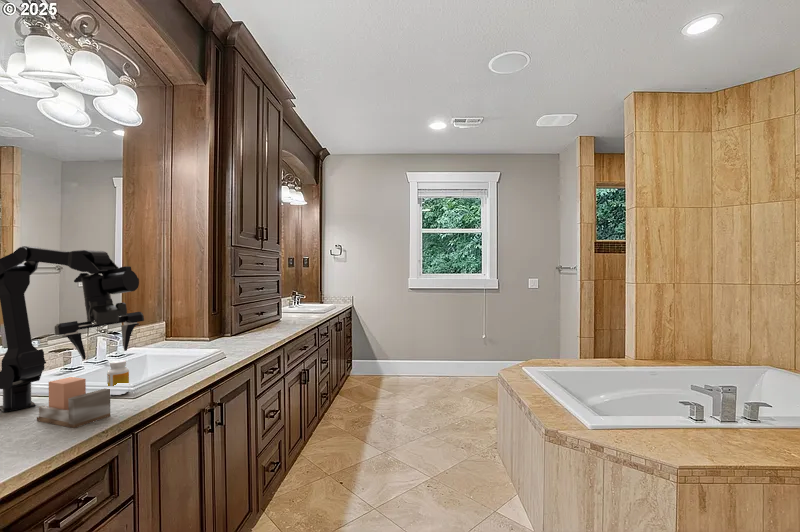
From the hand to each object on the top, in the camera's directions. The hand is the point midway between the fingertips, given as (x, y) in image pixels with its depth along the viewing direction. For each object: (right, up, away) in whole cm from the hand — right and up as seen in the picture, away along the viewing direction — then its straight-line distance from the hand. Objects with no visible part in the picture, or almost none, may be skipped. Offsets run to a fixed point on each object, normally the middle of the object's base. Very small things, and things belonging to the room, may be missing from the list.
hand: (105, 354), depth 110 cm
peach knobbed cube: (-6, -13, -5) cm, 15 cm away
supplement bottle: (-6, -15, +14) cm, 21 cm away
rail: (-3, -15, -7) cm, 16 cm away
